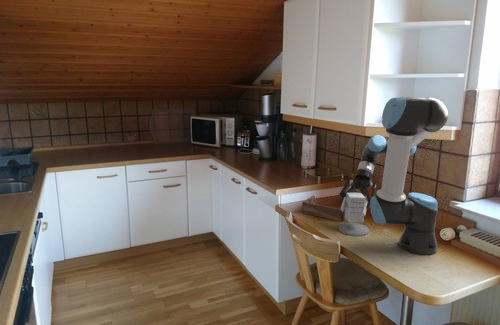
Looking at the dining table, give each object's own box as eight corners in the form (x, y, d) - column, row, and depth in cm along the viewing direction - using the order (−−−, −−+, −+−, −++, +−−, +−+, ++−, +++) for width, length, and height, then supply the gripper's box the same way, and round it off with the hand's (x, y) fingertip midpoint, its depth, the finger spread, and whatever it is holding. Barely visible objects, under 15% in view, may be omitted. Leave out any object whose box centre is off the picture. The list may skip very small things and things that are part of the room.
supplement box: (344, 217, 183) (346, 192, 180) (359, 217, 182) (361, 192, 180) (347, 222, 176) (349, 197, 173) (363, 223, 175) (365, 197, 172)
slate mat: (370, 227, 183) (370, 225, 183) (367, 238, 171) (367, 236, 170) (341, 222, 188) (341, 221, 188) (336, 233, 176) (336, 231, 176)
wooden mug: (359, 210, 207) (361, 178, 203) (348, 202, 220) (349, 172, 216) (373, 209, 209) (376, 178, 205) (361, 201, 222) (364, 172, 218)
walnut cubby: (312, 205, 214) (312, 195, 212) (351, 213, 202) (352, 203, 200) (301, 212, 202) (302, 202, 201) (343, 221, 190) (344, 210, 189)
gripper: (388, 179, 182) (377, 220, 172) (344, 173, 193) (331, 211, 184) (387, 171, 176) (375, 213, 167) (341, 165, 188) (328, 204, 178)
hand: (352, 212), depth 175 cm, fingers closed on supplement box, 10 cm apart
